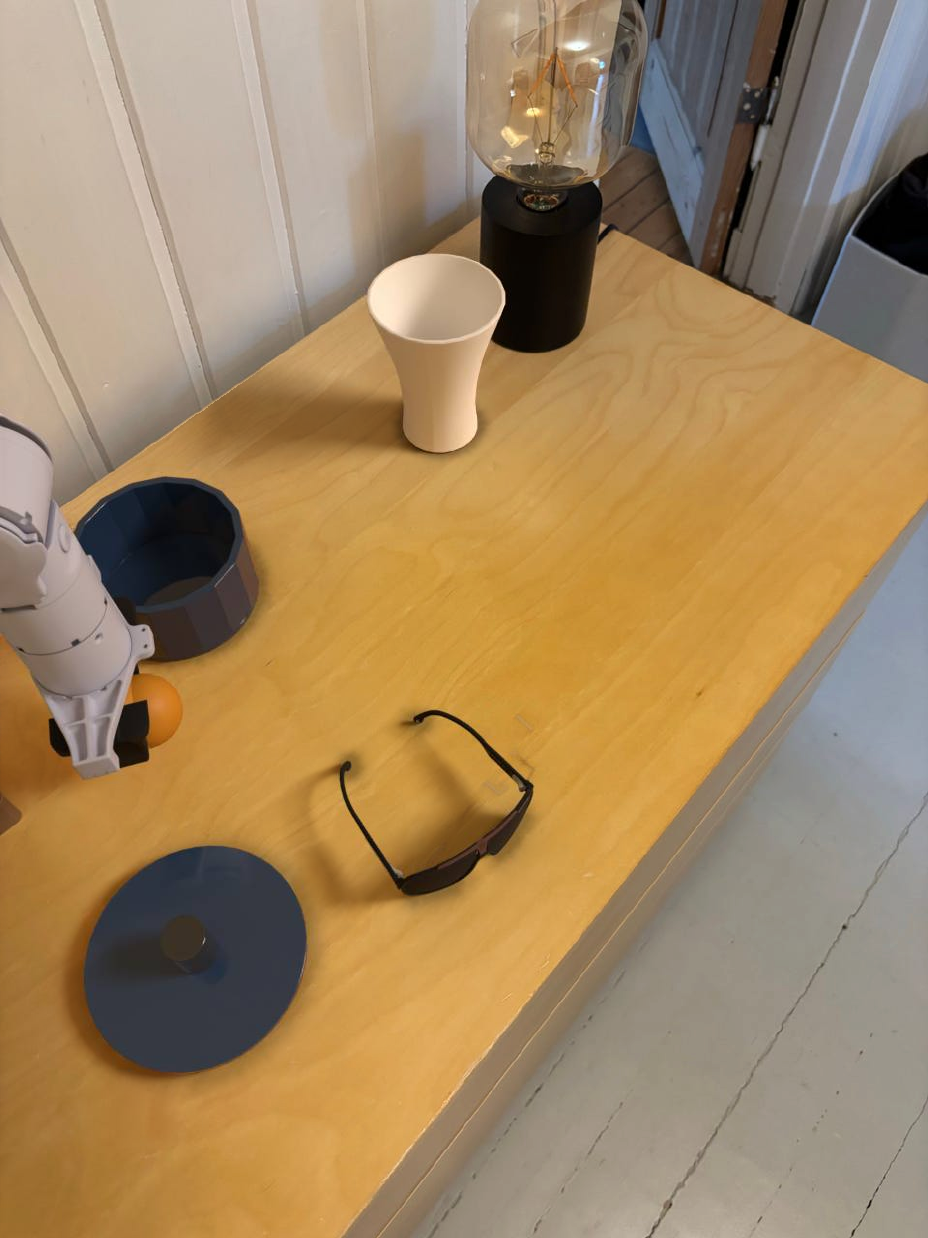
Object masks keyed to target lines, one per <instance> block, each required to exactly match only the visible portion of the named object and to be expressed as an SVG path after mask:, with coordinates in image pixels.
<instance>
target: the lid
mask: <svg viewBox="0 0 928 1238" xmlns="http://www.w3.org/2000/svg"><path fill="white" fill-rule="evenodd" d="M304 915H305V914H304V912H303V908H302V906H301V904H300V901H299V899H298V897H297V894H296V892H294V890H293V888H292V886H291V885H290V883H289V881H287V880H286V878H285V877H284V876H283V874H282V873H281V872H279V870H277V869H276V868H275V867H274V866H273V865H272V864H271V863H269V862H267V861H266V860H264V859H263V858H262V857H260V856H258V855H256V854H253V853H252V852H249V851H245V850H243V849H241V848H236V847H231V846H225V845H201V846H193V847H189V848H184V849H180V850H177V851H174V852H171V853H169V854H167V855H165V856H161V857H160V858H158V859H156V860H154V861H153V862H150V863H149V864H148V865H146V866H144V867H142V868H141V869H140V870H139V871H138V872H136V873H135V874H134V875H133V876H131V877H130V878H129V879H128V880H127V881H126V882H125V883H124V884H123V885H122V886H121V887H120V888H119V889H117V891H116V893H115V894H114V895H113V896H112V897H111V898H110V900H109V901H108V903H107V904H106V906H105V907H104V909H103V910H102V911H101V913H100V915H99V917H98V919H97V921H96V923H95V925H94V928H93V930H92V933H91V935H90V938H89V941H88V945H87V948H86V953H85V959H84V966H83V987H84V995H85V996H84V997H85V1001H86V1004H87V1009H88V1012H89V1015H90V1016H91V1019H92V1021H93V1023H94V1025H95V1027H96V1029H97V1030H98V1032H99V1033H100V1035H101V1036H102V1038H103V1039H104V1040H105V1041H106V1042H107V1044H108V1045H109V1046H110V1047H111V1048H112V1049H113V1050H114V1051H115V1052H117V1053H118V1054H119V1055H121V1056H122V1057H123V1058H125V1059H126V1060H128V1061H129V1062H132V1063H133V1064H135V1065H137V1066H139V1067H141V1068H144V1069H147V1070H150V1071H153V1072H158V1073H163V1074H169V1075H170V1074H174V1075H188V1074H197V1073H198V1074H199V1073H202V1072H206V1071H211V1070H215V1069H217V1068H219V1067H222V1066H225V1065H227V1064H230V1063H232V1062H233V1061H235V1060H237V1059H239V1058H240V1057H242V1056H244V1055H246V1054H248V1052H250V1051H251V1050H252V1049H254V1048H256V1047H257V1046H258V1045H259V1044H260V1043H261V1042H262V1041H264V1040H265V1038H266V1037H268V1036H269V1035H270V1034H271V1033H272V1031H273V1030H274V1029H275V1028H276V1027H277V1026H278V1025H279V1023H280V1022H281V1021H282V1020H283V1018H284V1017H285V1015H286V1014H287V1012H288V1011H289V1009H290V1008H291V1005H292V1003H293V1001H294V1000H295V998H296V996H297V993H298V991H299V989H300V986H301V983H302V980H303V976H304V973H305V969H306V964H307V955H308V931H307V923H306V920H305V919H306V918H305V916H304Z"/></svg>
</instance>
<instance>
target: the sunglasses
mask: <svg viewBox="0 0 928 1238" xmlns="http://www.w3.org/2000/svg"><path fill="white" fill-rule="evenodd" d="M431 716H436V717H437V716H438V717H442V718H443V719H447V720H449V721H451V722H453V723H455V724H456V725H458V726H460V727H461V728H463V729H464V730H465V731H467V732H468V733H469V734H471V736H473V737H474V739H475V740H477V741H478V742H479V743H480V745H481V746H482V747H483V749H484V751H485V752H486V754H487V755H488V757H489V758H490V759H491V760H492V761H493V762H494V763H495V764H496V765H497V766H498V767H499V768H500V769H502V771H503V772H504V773H506V774H507V775H508V776H509V777H510V778H511V779H512V781H514V782H515V783H516V784H517V786H518V791H519V792H520V793H524V794H523V795H522V796H521V799H520V800H519V801H518V802H517V804H516V805H515V807H514V808H513V809H512V810H511V811H510V812H509V813H508V814H507V815H506V816H505V817H504V818H503V819H502V821H500V822H499V823H498V824H497V825H496V826H495V827H493V828H492V829H491V830H489V831H488V832H487V833H486V834H484V835H482V836H481V837H479V838H478V839H477V840H475V842H473V843H472V844H470V845H469V846H467V848H465V849H463V850H461V851H460V852H458V853H457V854H455V855H454V856H451V857H449V858H447V859H445V860H443V861H441V862H439V863H438V864H436V865H434V866H432V867H428V868H426V869H423V870H421V871H417V872H415V873H411V874H409V875H407V876H406V877H404V875H403V872H402V870H399V869H396V868H395V867H393V865H392V864H391V862H389V861H388V860H387V858H386V857H385V855H384V853H382V851H381V849H380V847H379V846H378V845H377V842H375V840H374V838H373V837H372V836H371V833H369V831H368V829H367V828H366V826H365V825H364V823H363V822H362V820H361V819H360V817H359V815H358V814H357V812H356V811H355V810H354V807H353V806H352V804H351V801H350V799H349V796H348V793H347V789H346V782H345V773H346V772H349V771H351V769H352V763H351V761H350V760H346V761H345V762H344V763H343V764H342V765H341V766H340V769H339V773H338V774H339V785H340V790H341V794H342V798H343V801H344V803H345V806H346V808H347V810H348V812H349V814H350V816H351V817H352V819H353V820H354V822H355V823H356V825H357V827H358V828H359V830H360V832H361V833H362V835H363V837H364V839H365V840H366V842H367V844H368V845H369V846H370V849H371V850H372V851H373V852H374V854H375V856H376V857H377V859H378V860H379V862H380V864H381V865H382V866H383V867H384V869H385V871H386V873H387V874H388V875H389V877H390V878H391V880H392V882H393V883H394V885H395V886H396V888H397V890H398V891H401V893H402V894H403V895H405V896H411V897H413V896H414V897H415V896H422V895H428V894H432V893H436V892H439V891H443V890H444V889H447V888H450V887H452V886H453V885H456V884H458V883H460V882H461V881H462V880H464V879H466V878H467V877H468V876H469V875H470V874H471V873H472V872H473V871H474V870H475V868H476V867H477V865H478V863H479V862H480V861H481V859H483V858H484V857H486V856H487V855H490V856H493V857H494V856H496V855H498V854H499V853H500V852H501V851H502V850H503V849H504V847H505V846H506V844H508V842H509V841H510V839H511V838H512V837H513V835H514V834H515V832H516V831H517V829H518V827H519V826H520V824H521V822H522V820H523V818H524V817H525V814H526V812H527V810H528V809H529V806H530V804H531V802H532V799H533V796H534V787H535V785H534V783H532V782H531V781H529V779H526V778H525V777H524V776H523V775H522V774H521V773H520V772H519V771H518V770H516V769H515V767H513V765H512V764H510V763H509V762H508V761H507V760H506V759H505V757H503V756H502V755H501V754H500V753H498V751H497V750H495V748H494V747H492V746H491V745H490V744H489V743H488V742H487V741H486V739H485V738H484V737H483V736H482V735H481V734H480V733H478V732H477V730H476V729H474V728H473V727H472V726H470V725H469V724H468V723H467V722H465V721H463V720H462V719H460V718H459V717H457V716H455V715H453V714H451V713H448V712H445V711H444V710H440V709H428V710H425V711H423V712H421V713H418V714H416V715H414V716H413V718H412V721H413V723H414V724H417V725H419V724H422V723H423V722H424V720H425V719H426V718H428V717H431Z"/></svg>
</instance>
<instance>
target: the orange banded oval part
mask: <svg viewBox="0 0 928 1238" xmlns="http://www.w3.org/2000/svg"><path fill="white" fill-rule="evenodd" d="M143 700H147V703H148V711H149V720H150V726H149V734H148V735H147V736H146V739H147V742H148V749H149V750H150V749H154V748H156V747H159V746H162V745H163V744H165V743H167V742H168V741H169V740H170V739H171V738H172V737H173V736H174V735H175V733H176V732H177V731H178V729H179V727H180V726H181V722H182V718H183V713H184V712H183V710H184V709H183V708H184V707H183V701H182V698H181V696H180V694H179V692H178V689H176V688H175V686H174V685H173V684H172V683H171V682H170V681H168V680H167V679H165V678H164V677H161V676H159V675H156V674H151V673H140V674H135V675H132V679H131V682H130V686H129V689H128V692H127V696H126V699H125V702H124V705H126V704H130V703H135V702H139V701H143Z"/></svg>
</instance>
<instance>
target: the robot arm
mask: <svg viewBox="0 0 928 1238" xmlns="http://www.w3.org/2000/svg"><path fill="white" fill-rule="evenodd" d="M54 477H55V471H54V456H53V452H52V450H51V448H50V446H49V445H48V443H47V442H46V441H45V440H44V438H43V437H42V436H40V435H39V434H38V433H37V432H36V431H35V430H34V429H32V428H30V427H29V426H27V425H26V424H24V423H22V422H20V421H17V420H15V419H13V418H11V417H10V416H9V415H6V414H5V413H2V412H0V634H1V635H2V637H3V638H4V639H5V641H6V642H7V644H8V645H9V646H10V647H11V649H12V650H13V651H14V653H16V655H17V656H18V657H19V659H20V660H21V662H22V663H23V664H24V665H25V667H26V668H27V669H28V671H29V675H30V677H31V680H32V681H33V684H34V685H35V687H36V689H37V691H38V692H39V695H40V696H41V698H42V700H43V702H44V703H45V705H46V707H47V709H48V710H49V712H50V714H51V716H52V717H51V718H48V732H49V733H48V735H49V736H48V737H49V744H50V747H51V748H52V749H53V751H54V752H55V753H56V754H57V755H58V756H59V757H61V758H69V757H70V759H71V766H72V767H73V769H74V770H75V771H76V772H77V773H78V775H79V776H80V777H81V778H82V780H83V781H86V780H90V779H91V780H92V779H95V778H99V777H102V776H107V775H110V774H114V773H118V772H120V770H121V769H123V768H127V767H131V766H136V765H139V764H142V763H147V762H148V761H150V749H148V742H147V739H146V736H147V735H148V734H149V726H150V720H149V711H148V703H147V700H143V701H139V702H135V703H130V704H126V705H124V702H125V699H126V696H127V692H128V689H129V686H130V682H131V679H132V675H135V674H141V673H140V668H139V664H138V662H140V661H142V660H145V659H146V658H149V657H151V656H152V655H153V654H154V651H155V647H154V639H153V634H152V632H151V630H150V628H149V626H147V625H138V620H137V612H136V606H135V604H134V603H133V601H132V600H131V599H129V598H127V597H115V598H111V596H110V595H109V593H108V592H107V590H106V589H105V587H104V586H103V584H102V582H101V573H100V571H99V569H98V567H97V565H96V564H95V562H94V560H93V558H92V556H91V555H87V556H86V554H85V552H84V551H83V549H82V547H81V545H80V544H79V542H78V540H77V538H76V536H75V535H74V531H73V530H72V528H71V526H70V524H69V523H68V521H67V519H66V518H65V516H64V514H63V512H62V511H61V508H60V506H59V504H57V502H56V500H54V499H53V498H52V494H53V493H52V492H53V485H54Z"/></svg>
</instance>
